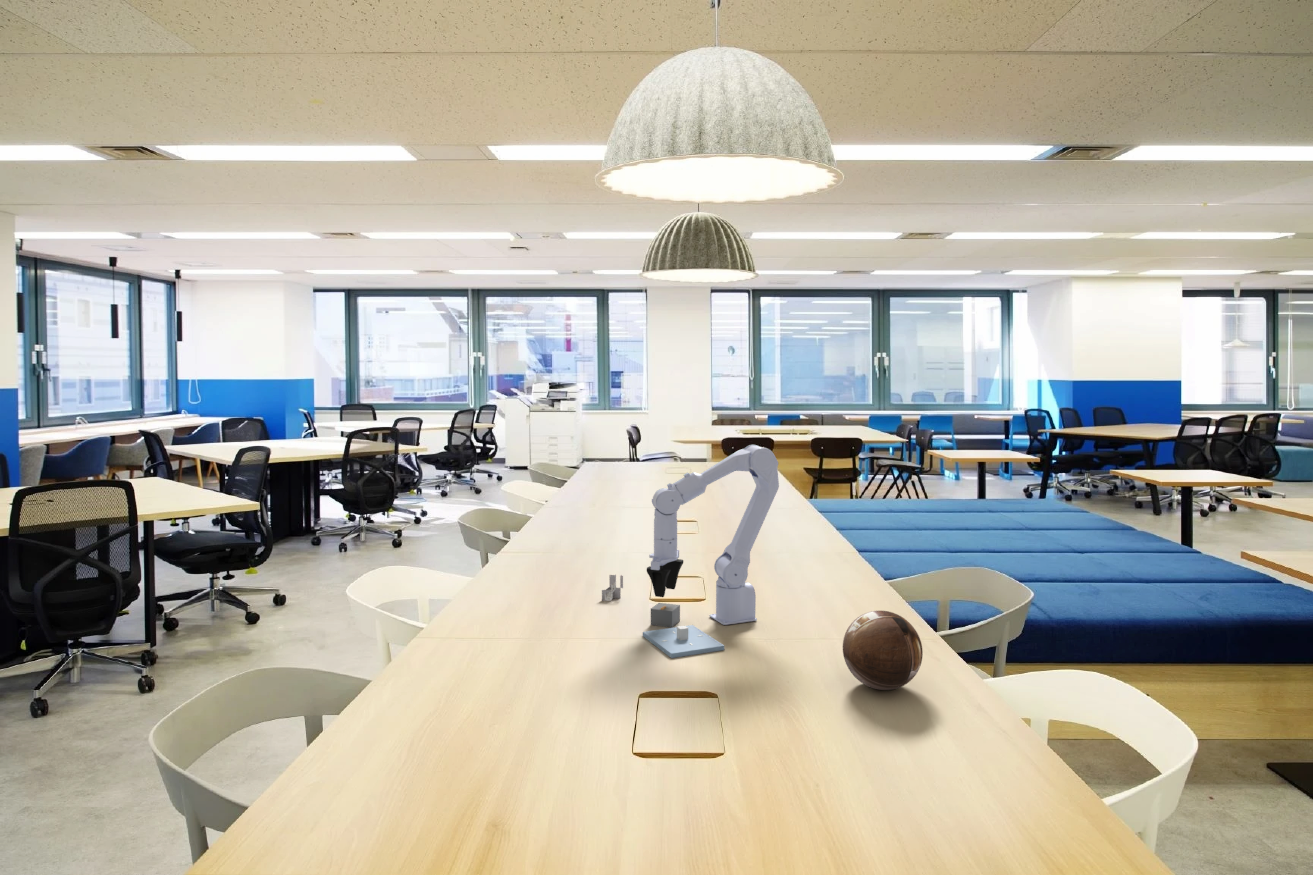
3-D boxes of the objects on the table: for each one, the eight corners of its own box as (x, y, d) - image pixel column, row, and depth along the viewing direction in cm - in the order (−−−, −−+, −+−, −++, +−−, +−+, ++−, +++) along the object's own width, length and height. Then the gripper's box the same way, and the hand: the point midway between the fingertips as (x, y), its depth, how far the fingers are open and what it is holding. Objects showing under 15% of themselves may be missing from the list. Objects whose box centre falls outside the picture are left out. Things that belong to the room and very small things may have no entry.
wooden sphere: (826, 679, 161) (828, 606, 160) (886, 668, 167) (888, 598, 166) (874, 708, 147) (876, 628, 146) (938, 695, 153) (940, 618, 152)
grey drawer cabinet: (658, 618, 201) (658, 601, 201) (679, 620, 199) (680, 603, 199) (650, 624, 196) (650, 607, 196) (672, 627, 194) (672, 610, 194)
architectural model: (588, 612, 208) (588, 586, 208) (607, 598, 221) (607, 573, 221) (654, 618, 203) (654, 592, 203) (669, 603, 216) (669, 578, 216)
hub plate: (692, 629, 193) (692, 614, 193) (724, 649, 178) (724, 634, 178) (642, 636, 188) (642, 620, 187) (671, 658, 173) (671, 641, 173)
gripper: (660, 531, 204) (660, 583, 205) (639, 542, 191) (638, 598, 192) (687, 533, 202) (686, 586, 203) (666, 544, 188) (666, 601, 189)
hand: (665, 592), depth 197 cm, fingers open, 7 cm apart
